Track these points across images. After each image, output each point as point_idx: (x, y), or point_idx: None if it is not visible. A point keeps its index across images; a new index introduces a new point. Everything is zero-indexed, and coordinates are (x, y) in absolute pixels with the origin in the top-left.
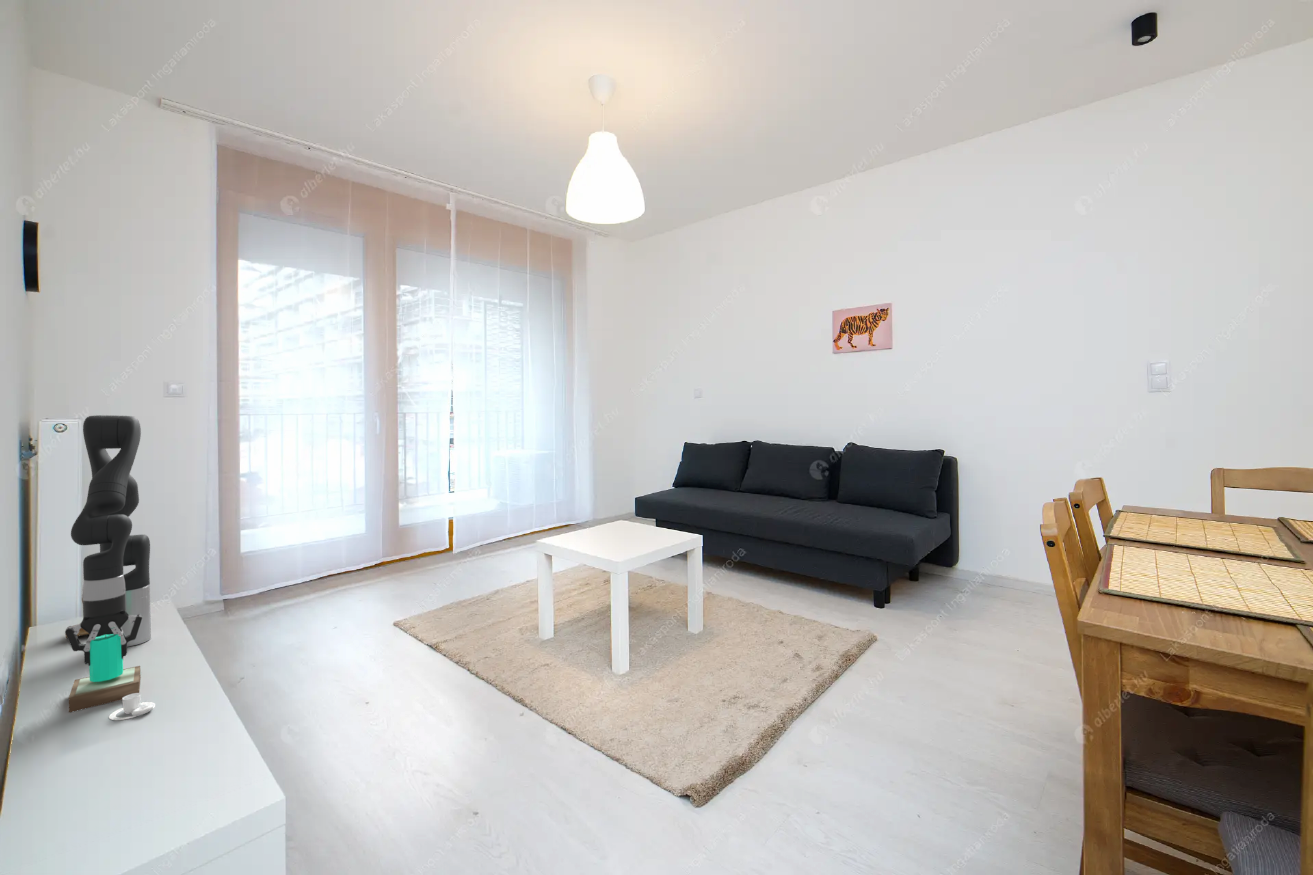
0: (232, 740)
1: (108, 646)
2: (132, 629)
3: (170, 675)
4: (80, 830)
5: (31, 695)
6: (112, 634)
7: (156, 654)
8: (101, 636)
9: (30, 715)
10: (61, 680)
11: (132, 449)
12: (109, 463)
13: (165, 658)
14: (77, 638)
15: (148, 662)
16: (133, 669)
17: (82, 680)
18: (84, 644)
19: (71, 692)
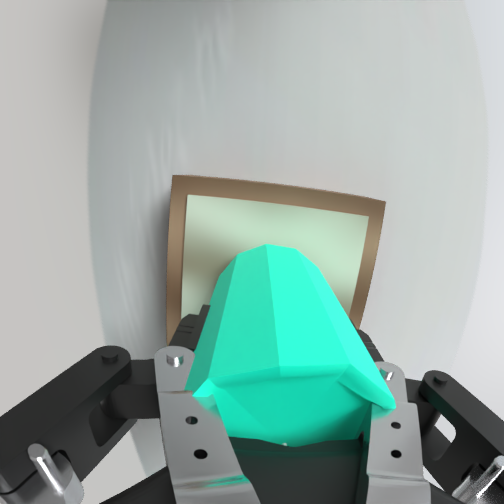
0: None
1: None
2: (433, 475)
3: (427, 249)
4: None
5: (93, 95)
6: (339, 411)
7: (408, 4)
8: (259, 408)
9: (99, 275)
10: (163, 16)
11: None
12: None
13: (433, 62)
14: (88, 424)
15: (393, 50)
16: (360, 242)
17: (195, 220)
18: (150, 393)
19: (169, 318)
